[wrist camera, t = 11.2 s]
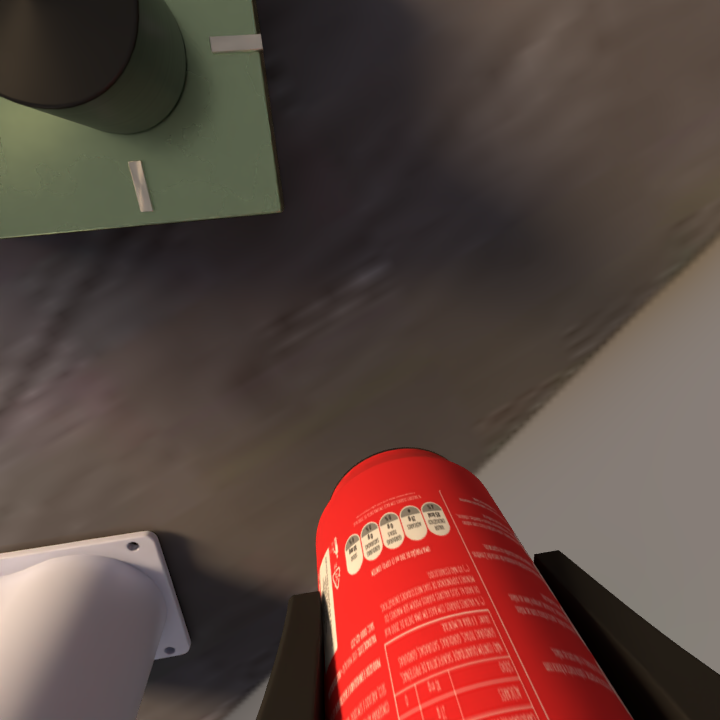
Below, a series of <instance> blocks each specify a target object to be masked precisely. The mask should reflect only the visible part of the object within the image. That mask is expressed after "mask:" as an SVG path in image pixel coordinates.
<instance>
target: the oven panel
mask: <svg viewBox="0 0 720 720" xmlns="http://www.w3.org/2000/svg"><path fill="white" fill-rule="evenodd" d="M164 1H165V2H166V4H167V6H168V7H169V9H170V11H171V12H172V14H173V16H174V18H175V20H176V22H177V25H178V27H179V30H180V33H181V36H182V40H183V44H184V49H185V57H186V72H185V80H184V84H183V88H182V92H181V94H180V97H179V99H178V101H177V103H176V105H175V106H174V108H173V109H172V110H171V112H170V113H169V114H168V115H167V116H166V117H165V118H164V119H163V120H162V121H161V122H159V123H158V124H156V125H155V126H153V127H151V128H149V129H147V130H144V131H141V132H137V133H130V134H115V133H108V132H104V131H100V130H97V129H94V128H91V127H88V126H85V125H82V124H78V123H75V122H72V121H69V120H66V119H63V118H60V117H57V116H54V115H51V114H48V113H45V112H42V111H39V110H36V109H33V108H29V107H26V106H23V105H20V104H17V103H14V102H12V101H10V100H7V99H5V98H2V97H0V239H7V238H18V237H29V236H40V235H50V234H61V233H72V232H83V231H93V230H104V229H115V228H126V227H136V226H147V225H158V224H169V223H180V222H190V221H201V220H212V219H223V218H233V217H244V216H255V215H266V214H276V213H281V212H282V211H283V210H284V208H285V207H284V200H283V193H282V186H281V178H280V171H279V164H278V157H277V149H276V142H275V135H274V128H273V120H272V113H271V106H270V98H269V91H268V84H267V77H266V69H265V62H264V55H263V44H262V37H261V33H260V26H259V19H258V11H257V4H256V0H164Z"/></svg>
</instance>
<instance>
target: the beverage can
mask: <svg viewBox="0 0 720 720" xmlns="http://www.w3.org/2000/svg"><path fill="white" fill-rule="evenodd" d="M316 553H317V573H318V591H320V596H321V604H322V622H323V639H324V705H325V720H634V719H633V717H632V716H631V714H630V713H629V711H628V710H627V708H626V706H625V705H624V703H623V702H622V700H621V699H620V697H619V696H618V694H617V692H616V691H615V689H614V688H613V686H612V685H611V683H610V681H609V680H608V678H607V677H606V675H605V674H604V672H603V671H602V669H601V667H600V666H599V664H598V663H597V661H596V660H595V658H594V656H593V655H592V653H591V652H590V650H589V649H588V647H587V646H586V644H585V642H584V641H583V639H582V638H581V636H580V635H579V633H578V631H577V630H576V628H575V627H574V625H573V624H572V622H571V621H570V619H569V617H568V616H567V614H566V613H565V611H564V610H563V608H562V606H561V605H560V603H559V602H558V600H557V599H556V597H555V596H554V594H553V592H552V591H551V589H550V588H549V586H548V585H547V583H546V581H545V580H544V578H543V577H542V575H541V574H540V572H539V571H538V569H537V567H536V566H535V564H534V563H533V561H532V560H531V558H530V557H529V555H528V553H527V552H526V550H525V549H524V547H523V546H522V544H521V542H520V541H519V539H518V538H517V536H516V535H515V533H514V532H513V530H512V528H511V527H510V525H509V524H508V522H507V521H506V519H505V517H504V516H503V514H502V513H501V511H500V510H499V508H498V506H497V505H496V503H495V502H494V500H493V499H492V497H491V496H490V494H489V493H488V491H487V489H486V488H485V487H484V485H483V484H482V483H481V481H480V480H479V479H478V478H477V477H476V476H475V475H473V474H472V473H471V472H469V471H468V470H466V469H465V468H463V467H461V466H459V465H457V464H455V463H453V462H450V461H449V460H448V459H446V458H445V457H443V456H441V455H439V454H437V453H435V452H432V451H429V450H426V449H421V448H413V447H401V448H393V449H388V450H384V451H381V452H378V453H375V454H373V455H371V456H369V457H367V458H365V459H363V460H361V461H360V462H358V463H357V464H356V465H354V466H353V467H352V468H351V469H349V470H348V471H347V472H346V473H345V474H344V476H343V477H342V478H341V479H340V481H339V482H338V483H337V485H336V487H335V489H334V491H333V493H332V495H331V498H330V501H329V503H328V504H327V506H326V508H325V510H324V512H323V514H322V516H321V518H320V521H319V525H318V529H317V535H316Z"/></svg>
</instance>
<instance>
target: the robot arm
mask: <svg viewBox="0 0 720 720" xmlns="http://www.w3.org/2000/svg"><path fill="white" fill-rule="evenodd" d="M131 542H136V543H138V545H134V544H132V543H131ZM534 564H535V566H536V567H537V569H538V571H539V572H540V574H541V575H542V577H543V578H544V580H545V581H546V583H547V585H548V586H549V588H550V589H551V591H552V592H553V594H554V596H555V597H556V599H557V600H558V602H559V603H560V605H561V606H562V608H563V610H564V611H565V613H566V614H567V616H568V617H569V619H570V621H571V622H572V624H573V625H574V627H575V628H576V630H577V631H578V633H579V635H580V636H581V638H582V639H583V641H584V642H585V644H586V646H587V647H588V649H589V650H590V652H591V653H592V655H593V656H594V658H595V660H596V661H597V663H598V664H599V666H600V667H601V669H602V671H603V672H604V674H605V675H606V677H607V678H608V680H609V681H610V683H611V685H612V686H613V688H614V689H615V691H616V692H617V694H618V696H619V697H620V699H621V700H622V702H623V703H624V705H625V706H626V708H627V710H628V711H629V713H630V714H631V716H632V717H633V719H634V720H720V675H719V674H718V673H716V672H715V671H714V670H712V669H711V668H709V667H708V666H706V665H705V664H704V663H702V662H701V661H700V660H698V659H697V658H695V657H694V656H693V655H691V654H690V653H688V652H687V651H685V650H684V649H683V648H681V647H680V646H679V645H677V644H676V643H675V642H673V641H672V640H670V639H669V638H668V637H666V636H665V635H664V634H662V633H661V632H660V631H659V630H657V629H656V628H655V627H653V626H652V625H651V624H650V623H648V622H647V621H646V620H644V619H643V618H642V617H641V616H639V615H638V614H637V613H635V612H634V611H633V610H632V609H630V608H629V607H628V606H626V605H625V604H624V603H623V602H621V601H620V600H619V599H618V598H616V597H615V596H614V595H613V594H612V593H610V592H609V591H608V590H607V589H605V588H604V587H603V586H602V585H600V584H599V583H598V582H597V581H596V580H594V579H593V578H592V577H591V576H589V575H588V574H587V573H586V572H585V571H583V570H582V569H581V568H580V567H578V566H577V565H576V564H575V563H574V562H572V561H571V560H570V559H568V558H567V557H566V556H565V555H564V554H563V553H561V552H560V551H559V550H557V551H551V552H545V553H540V554H534ZM190 645H191V640H190V637H189V634H188V630H187V627H186V624H185V621H184V618H183V615H182V612H181V609H180V605H179V602H178V599H177V596H176V593H175V590H174V587H173V584H172V580H171V577H170V574H169V571H168V568H167V565H166V562H165V559H164V555H163V552H162V549H161V546H160V543H159V540H158V537H157V535H156V534H154V533H153V532H150V531H141V532H134V533H128V534H122V535H115V536H109V537H103V538H96V539H90V540H83V541H77V542H71V543H64V544H58V545H51V546H45V547H39V548H32V549H26V550H20V551H13V552H7V553H0V720H136V717H137V714H138V710H139V707H140V704H141V701H142V697H143V694H144V691H145V688H146V684H147V681H148V678H149V675H150V671H151V668H152V665H153V662H154V660H156V659H161V658H167V657H172V656H177V655H182V654H185V653H187V652H188V651H189V649H190ZM256 720H325V705H324V639H323V622H322V604H321V596H320V591H317V592H311V593H305V594H299V595H293V596H292V597H291V598H290V599H289V603H288V609H287V615H286V620H285V624H284V629H283V633H282V637H281V641H280V645H279V648H278V652H277V656H276V659H275V663H274V666H273V669H272V672H271V676H270V679H269V682H268V685H267V688H266V691H265V695H264V698H263V701H262V704H261V707H260V710H259V713H258V715H257V718H256Z"/></svg>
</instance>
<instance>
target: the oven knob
mask: <svg viewBox="0 0 720 720" xmlns="http://www.w3.org/2000/svg"><path fill="white" fill-rule="evenodd" d="M185 72H186V57H185V49H184V44H183V40H182V36H181V33H180V30H179V27H178V25H177V22H176V20H175V18H174V16H173V14H172V12H171V11H170V9H169V7H168V6H167V4H166V2H165V1H164V0H0V97H2V98H5V99H7V100H10V101H12V102H14V103H17V104H20V105H23V106H26V107H29V108H33V109H36V110H39V111H42V112H45V113H48V114H51V115H54V116H57V117H60V118H63V119H66V120H69V121H72V122H75V123H78V124H82V125H85V126H88V127H91V128H94V129H97V130H100V131H104V132H108V133H115V134H130V133H137V132H141V131H144V130H147V129H149V128H151V127H153V126H155V125H156V124H158V123H159V122H161V121H162V120H163V119H164V118H165V117H166V116H167V115H168V114H169V113H170V112H171V110H172V109H173V108H174V106H175V105H176V103H177V101H178V99H179V97H180V94H181V92H182V88H183V84H184V80H185Z"/></svg>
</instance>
